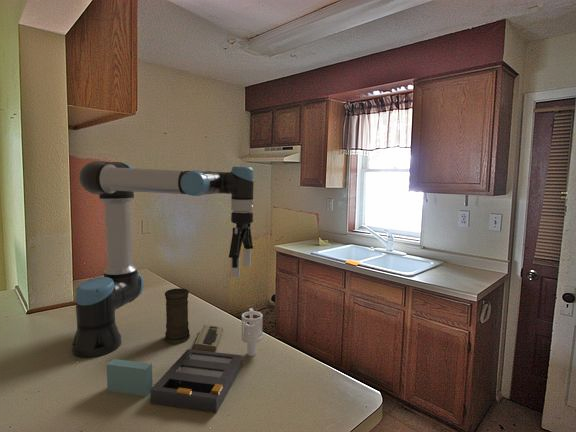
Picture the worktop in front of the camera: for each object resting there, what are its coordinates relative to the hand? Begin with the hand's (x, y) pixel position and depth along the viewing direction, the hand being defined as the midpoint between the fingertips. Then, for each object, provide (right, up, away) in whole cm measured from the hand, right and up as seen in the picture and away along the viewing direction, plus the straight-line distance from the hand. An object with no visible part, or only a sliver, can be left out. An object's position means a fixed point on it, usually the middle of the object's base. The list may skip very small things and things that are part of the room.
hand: (241, 271), depth 123 cm
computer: (-13, -27, +6) cm, 31 cm away
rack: (-9, -30, -21) cm, 38 cm away
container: (-25, -26, +7) cm, 37 cm away
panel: (-28, -30, -25) cm, 48 cm away
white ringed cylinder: (+4, -28, -3) cm, 29 cm away
